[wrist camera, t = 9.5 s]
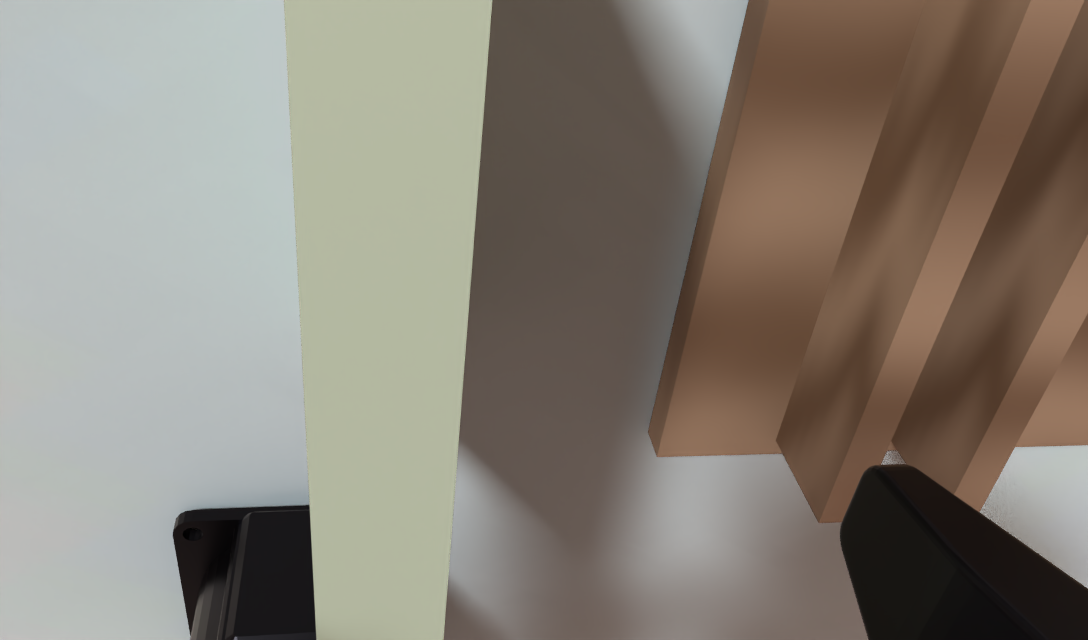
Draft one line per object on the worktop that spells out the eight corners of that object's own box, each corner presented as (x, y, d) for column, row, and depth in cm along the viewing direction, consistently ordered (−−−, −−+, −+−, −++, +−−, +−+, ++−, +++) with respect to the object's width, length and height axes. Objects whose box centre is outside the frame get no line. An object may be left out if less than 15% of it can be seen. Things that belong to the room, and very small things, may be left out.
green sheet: (408, 323, 22) (434, 757, 13) (341, 323, 22) (322, 767, 13) (431, -402, 14) (530, -502, 6) (327, -418, 14) (256, -549, 5)
